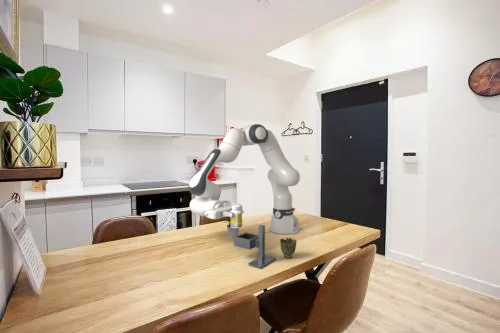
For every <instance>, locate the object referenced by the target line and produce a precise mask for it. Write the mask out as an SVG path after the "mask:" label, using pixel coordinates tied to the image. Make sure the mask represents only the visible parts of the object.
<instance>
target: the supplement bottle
mask: <svg viewBox="0 0 500 333" xmlns="http://www.w3.org/2000/svg"><path fill="white" fill-rule="evenodd" d="M231 212H233V213H234V216H232V217H230V227H231V228H239V229H241V228H242V227H243V221H242V220H243V214H242V211H241V210H240V206H239V205H233V206H232V211H231Z"/></svg>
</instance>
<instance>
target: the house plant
mask: <svg viewBox="0 0 500 333" xmlns="http://www.w3.org/2000/svg"><path fill="white" fill-rule="evenodd" d="M223 220H224V221H225V223H227V225H226V230H227V235H228V238H229V239H234V237H235V236H238V235H239V230H240V228H231V227H230V217H229V216H227V217H226V218H224V219H223ZM243 221H244V220H243V219H242V222H243Z"/></svg>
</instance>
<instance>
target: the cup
mask: <svg viewBox="0 0 500 333" xmlns="http://www.w3.org/2000/svg"><path fill="white" fill-rule="evenodd" d="M279 243H280V250H281V253H282V254H283V257H284V258H285V259H292V257H293V255H294V254H295V253H296V248H297V243H298V241H297V240H296V239H295V238H291V237H289V238H288V237H286V238H280V239H279Z"/></svg>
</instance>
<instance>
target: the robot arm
mask: <svg viewBox="0 0 500 333" xmlns="http://www.w3.org/2000/svg"><path fill="white" fill-rule="evenodd" d="M254 145H258V146H259V148H260V151H261V153H262V155H263V158H264V160H265V161H266V164H267V165H268V166H269V167H271V168H270V169H269V170H268V173H267V179H268V181H269V182H270V185H271V187H272V188H271V189H272V193H273V208H272V215H271V218H270V226H269V227H268V229H269V230H270V232H272V233H275V234H280V235H290V234H291V235H293V234H295V235H296V234H298V233H299V232H300V231H301V230H302V229H303V226H302V227H300V226H301V225H300V226H299V218H297V216H296V214H295V215H294V212H295V211H296V208H295V207H293V195H292V193H291V192H290V189H289V187H294V186H297V185H298V184H299V182H300V180H301V175H300V173H299V171H298V170H297V169H295V167H293V166H292V165H291V163H290V161H289V160H287V159H288V158H286V156H285V154H284V152H283V150H282V148H281V146H280V144H279V142H278V140H277V138H276V135H275V134H274V133H273V131H272V130H270V129H266V127H265V126H264V125H262V124H259V123H255V124H250V125H247V126H244V127H241V128H240V129H239V128H237V127H233V128H230V129H229V130H228V131H227V133H226V134H225V135H224V136H223V138H222V140H221V143H220V145H219V146H218V147H217V148H214V149H212V150H211V151H210V153H209V154H208V155H207V157H206V158H205V159H204V161H203V163H202V164H201V166H200V167H199V168H198V169H197V171H196V173H195V174H194V175H193V176H192V177H191V178H190V179H189V181H188V191H189V193H190V194H192V195H193V196H196V197H194V198H193V199H191V200H190V202H189V209H190V211H191V213H193V214H195V215H197V216H200V217H206V219H207V218H208V219H211V220H218V219H222V218H227V216H229V217H232V216H234V213H233V212H231V211H232V206H233V205H239V206H240V210H241V211H242V215H243V214H244V209H243V205H242V204H240V203H236V202H230V200H220V198H221V194H222V193H221V192H222V190H221V187H220V185H219V184H217V183H215V182H213V181H211V180H209V179H208V176H210V173H211V172H212V170H213V169H214V167H215V166H216V165H217V164H218V163H224V164H229V163H233V162H235V161H236V160H237V158H238V157H239V154H240V152H241V149H242V147H243V146H254Z"/></svg>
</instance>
